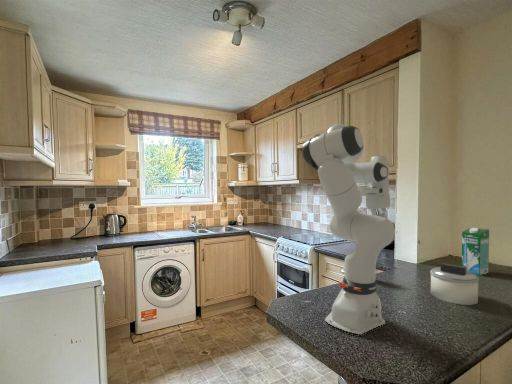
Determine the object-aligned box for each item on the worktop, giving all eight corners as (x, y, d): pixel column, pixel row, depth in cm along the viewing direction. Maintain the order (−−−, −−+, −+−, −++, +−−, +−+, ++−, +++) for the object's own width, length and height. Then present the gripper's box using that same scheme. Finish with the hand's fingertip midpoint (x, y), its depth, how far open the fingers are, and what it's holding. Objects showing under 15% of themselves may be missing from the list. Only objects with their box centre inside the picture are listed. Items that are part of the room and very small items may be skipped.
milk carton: (461, 271, 158) (462, 228, 157) (470, 269, 162) (471, 227, 161) (479, 275, 150) (480, 230, 149) (488, 273, 153) (489, 229, 153)
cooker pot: (475, 309, 109) (475, 284, 109) (425, 296, 122) (425, 274, 122) (481, 296, 121) (482, 274, 121) (435, 286, 134) (435, 266, 134)
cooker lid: (473, 283, 110) (473, 273, 110) (427, 274, 122) (427, 265, 122) (479, 274, 121) (479, 265, 121) (437, 266, 133) (437, 258, 133)
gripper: (381, 189, 143) (380, 215, 143) (363, 189, 129) (363, 218, 129) (393, 189, 139) (393, 216, 139) (376, 189, 125) (376, 219, 125)
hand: (378, 217), depth 134 cm, fingers open, 8 cm apart
